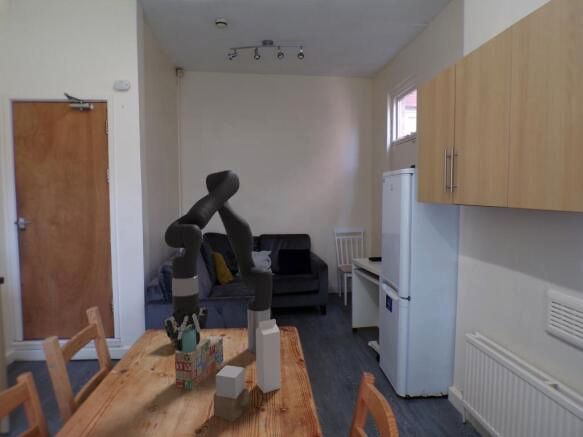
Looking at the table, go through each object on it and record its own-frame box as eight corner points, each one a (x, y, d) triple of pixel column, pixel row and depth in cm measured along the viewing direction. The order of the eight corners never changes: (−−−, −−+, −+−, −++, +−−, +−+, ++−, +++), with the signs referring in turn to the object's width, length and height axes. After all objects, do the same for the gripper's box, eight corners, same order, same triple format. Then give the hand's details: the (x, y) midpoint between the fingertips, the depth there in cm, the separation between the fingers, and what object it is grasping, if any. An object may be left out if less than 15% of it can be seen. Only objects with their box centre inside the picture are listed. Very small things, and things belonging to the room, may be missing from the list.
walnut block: (230, 402, 104) (230, 383, 103) (248, 409, 100) (248, 389, 100) (213, 414, 98) (213, 394, 97) (232, 422, 94) (232, 401, 94)
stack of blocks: (209, 359, 133) (208, 328, 132) (223, 361, 131) (223, 329, 130) (175, 388, 112) (174, 351, 112) (192, 390, 110) (191, 353, 110)
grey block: (226, 384, 102) (226, 365, 102) (244, 387, 101) (244, 367, 100) (216, 395, 97) (215, 374, 96) (235, 399, 95) (235, 377, 95)
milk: (280, 388, 111) (280, 321, 110) (263, 393, 108) (263, 325, 107) (272, 379, 116) (272, 316, 115) (256, 384, 113) (255, 319, 112)
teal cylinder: (190, 344, 106) (190, 325, 105) (199, 348, 102) (199, 329, 102) (175, 349, 102) (175, 330, 102) (184, 354, 99) (184, 334, 98)
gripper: (199, 284, 109) (201, 336, 110) (156, 294, 98) (158, 352, 99) (213, 288, 104) (215, 343, 105) (169, 299, 93) (172, 359, 94)
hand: (187, 347), depth 102 cm, fingers closed on teal cylinder, 5 cm apart
